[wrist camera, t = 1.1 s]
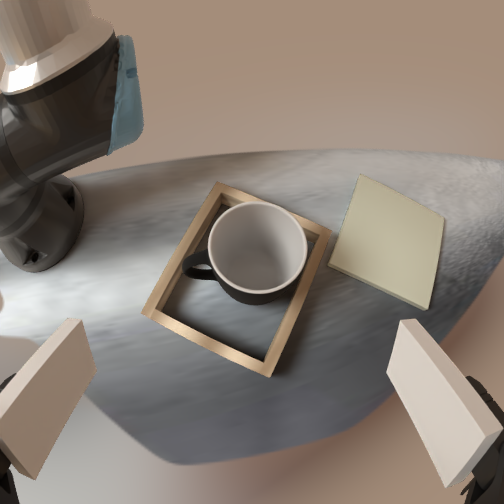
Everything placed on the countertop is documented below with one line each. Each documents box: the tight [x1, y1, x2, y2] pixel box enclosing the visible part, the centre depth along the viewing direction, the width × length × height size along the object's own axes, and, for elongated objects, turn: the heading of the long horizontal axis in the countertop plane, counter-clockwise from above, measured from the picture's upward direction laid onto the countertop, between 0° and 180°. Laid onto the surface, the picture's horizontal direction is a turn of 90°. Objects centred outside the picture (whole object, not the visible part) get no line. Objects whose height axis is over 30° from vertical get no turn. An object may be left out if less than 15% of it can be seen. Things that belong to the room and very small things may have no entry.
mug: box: [182, 201, 308, 305], centre depth 32 cm, size 12×9×10 cm
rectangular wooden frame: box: [141, 182, 332, 378], centre depth 35 cm, size 15×18×3 cm
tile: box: [327, 174, 444, 310], centre depth 39 cm, size 15×15×1 cm
